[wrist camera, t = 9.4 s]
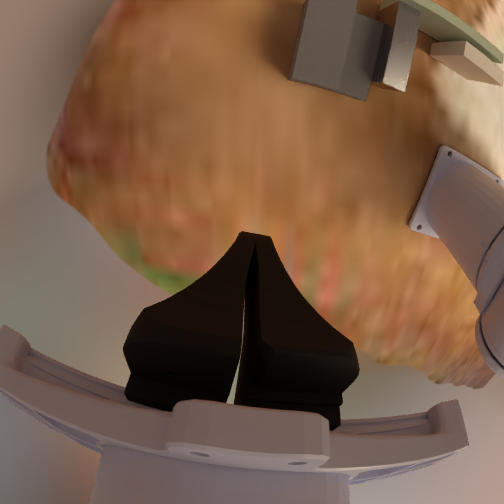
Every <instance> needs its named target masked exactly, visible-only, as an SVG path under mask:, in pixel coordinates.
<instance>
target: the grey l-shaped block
mask: <svg viewBox="0 0 504 504" xmlns="http://www.w3.org/2000/svg"><path fill="white" fill-rule="evenodd" d="M377 21H380V22H382V23H384V25H383V30H382V35H381V40H380V45H379V50H378V54H377V59H376V63H375V67H374V72H373V76H372V80H371V84H372V85H375V86H377V87H380V88H382V89H388V90H394V91H400V92H405V89H406V85H407V81H408V77H409V73H410V68H411V64H412V59H413V55H414V50H415V45H416V40H417V34H418V30H420V31H422V32H424V33H425V34H427V35H429V36H431V37H432V38H434V39H436V40H437V41H439V42H450V41H467V42H468V43H470V44H471V45H472V46H474V47H475V48H476V49H478V50H479V51H480V52H481V53H483V54H484V55H485V56H486V57H488V58H489V59H490V60H491V61H492V62H496V63H503V56H504V54H503V53H502V52H501V51H500V50H498V49H497V48H496V47H495V46H494V45H493V44H492V43H490V42H489V41H488V40H487V39H486V38H484V37H483V36H482V35H481V34H480V33H478V32H477V31H476V30H474V29H473V28H472V27H470V26H469V25H468V24H466V23H465V22H464V21H462V20H461V19H459V18H458V17H457V16H455V15H454V14H452V13H451V12H449V11H448V10H446V9H444V8H443V7H441V6H440V5H438V4H436V3H435V2H433V1H431V0H384V1H383V2H381V3H380V9H379V14H378V20H377Z"/></svg>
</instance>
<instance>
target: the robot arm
mask: <svg viewBox="0 0 504 504" xmlns="http://www.w3.org/2000/svg"><path fill="white" fill-rule="evenodd" d="M449 151H450V154H449V155H448V152H449ZM418 225H420V226H419V227H418V228H417V226H418ZM409 228H410V229H411V230H412V231H415V232H419V233H422V234H425V235H429V236H432V237H435V238H438V239H441V241H442V242H443V243H444V244H445V246H446V247H447V248H448V250H449V251H450V252H451V254H452V255H453V257H454V258H455V259H456V261H457V262H458V264H459V265H460V266H461V268H462V269H463V271H464V272H465V274H466V275H467V277H468V278H469V280H470V281H471V283H472V284H473V286H474V288H475V289H476V291H477V296H476V299H475V300H474V304H475V305H476V307H477V309H478V311H479V313H480V315H479V317H478V319H477V321H476V325H475V338H476V342H477V345H478V348H479V351H480V353H481V355H482V357H483V359H484V361H485V362H486V364H487V365H488V366H489V367H490V368H491V369H492V370H493V371H494V372H495V373H496V374H498V375H499V376H501V377H503V378H504V181H503V180H502V179H500V178H499V177H497V176H496V175H494V174H493V173H491V172H490V171H488V170H487V169H485V168H484V167H482V166H481V165H479V164H477V163H476V162H474V161H473V160H471V159H469V158H468V157H466V156H464V155H462V154H461V153H459V152H457V151H455V150H454V149H452V148H450V147H448V146H446V145H442V146H440V148H439V151H438V154H437V157H436V159H435V162H434V165H433V168H432V170H431V173H430V175H429V178H428V181H427V183H426V186H425V188H424V190H423V193H422V195H421V198H420V200H419V202H418V204H417V207H416V209H415V211H414V213H413V216H412V218H411V220H410V222H409ZM244 298H245V309H244ZM243 311H244V335H243V345H242V328H243ZM241 345H242V352H241ZM123 352H124V356H125V358H126V361H127V364H128V366H129V369H130V372H131V375H130V377H129V380H128V383H127V386H126V388H125V387H122V386H119V385H116V384H113V383H110V382H107V381H104V380H102V379H99V378H96V377H94V376H91V375H89V374H86V373H84V372H81V371H79V370H77V369H74V368H72V367H70V366H67V365H65V364H63V363H60V362H58V361H56V360H54V359H52V358H50V357H47V356H46V355H44V354H42V353H40V352H38V351H36V350H34V349H32V348H31V347H30V344H29V343H28V341H27V340H26V339H25V338H24V337H23V336H22V335H21V334H20V333H18V332H16V331H15V330H13V329H11V328H9V327H8V326H6V325H3V326H2V328H1V329H0V394H1V395H2V396H3V397H4V398H5V399H7V400H8V401H9V402H11V403H12V404H14V405H15V406H16V407H18V408H19V409H21V410H22V411H24V412H25V413H27V414H28V415H30V416H31V417H33V418H35V419H36V420H38V421H39V422H41V423H43V424H44V425H46V426H48V427H50V428H51V429H53V430H55V431H56V432H58V433H60V434H62V435H63V436H66V437H67V438H69V439H71V440H73V441H75V442H77V443H79V444H81V445H83V446H85V447H87V448H89V449H92V450H94V451H96V452H98V453H101V454H102V456H101V459H100V463H99V467H98V471H97V475H96V478H95V482H94V486H93V491H92V495H91V499H90V504H349V485H353V484H359V483H364V482H370V481H374V480H379V479H383V478H388V477H392V476H396V475H400V474H403V473H407V472H410V471H414V470H417V469H420V468H423V467H427V466H430V465H433V464H435V463H437V462H439V461H442V460H444V459H446V458H448V457H450V456H452V455H454V454H456V453H458V452H460V451H462V450H464V449H466V448H468V446H469V443H468V438H467V433H466V429H465V424H464V421H463V417H462V413H461V409H460V405H459V402H458V400H451V401H445V402H441V403H439V404H437V405H435V406H433V407H432V408H431V409H429V410H428V411H427V412H422V413H416V414H409V415H401V416H392V417H382V418H369V419H349V420H348V419H347V420H341V419H340V407H339V406H340V405H342V403H343V399H342V393H343V392H344V391H345V390H346V389H347V388H348V387H349V386H350V385H351V384H352V383H353V382H354V381H355V379H356V378H357V376H358V375H359V364H358V359H357V354H356V351H355V348H354V345H353V342H352V341H350V340H349V339H348V338H346V337H345V336H344V335H342V334H341V333H340V332H338V331H337V330H336V329H335V328H333V327H332V326H331V325H330V324H329V323H328V322H327V321H326V320H325V319H323V318H322V317H321V316H320V315H319V314H318V313H317V312H316V311H315V309H314V308H313V307H312V306H311V305H310V304H309V303H308V302H307V301H306V299H305V298H304V297H303V296H302V294H301V293H300V292H299V290H298V289H297V288H296V286H295V285H294V283H293V281H292V280H291V278H290V277H289V275H288V273H287V271H286V270H285V268H284V266H283V264H282V262H281V260H280V258H279V256H278V253H277V251H276V249H275V246H274V244H273V241H272V239H271V237H270V236H265V235H260V234H255V233H249V232H244V231H242V232H240V233H239V235H238V237H237V239H236V240H235V242H234V243H233V245H232V246H231V247H230V248H229V250H228V251H227V252H226V253H225V255H224V256H223V257H222V258H221V259H220V260H219V261H218V262H217V263H216V264H215V265H214V266H213V267H212V268H211V269H210V270H209V271H208V272H206V273H205V274H204V275H203V276H202V277H200V278H199V279H198V280H196V281H195V282H194V283H192V284H191V285H189V286H188V287H186V288H185V289H183V290H182V291H180V292H178V293H176V294H175V295H173V296H171V297H169V298H167V299H166V300H164V301H161V302H159V303H156V304H154V305H152V306H149V307H146V308H144V309H143V311H142V312H141V313H140V315H139V316H138V318H137V319H136V321H135V322H134V324H133V325H132V327H131V329H130V331H129V334H128V336H127V339H126V341H125V343H124V346H123ZM240 354H241V359H240ZM239 359H240V366H239V372H238V379H237V386H236V393H235V399H234V404H228V403H226V402H227V399H228V396H229V394H230V390H231V387H232V383H233V380H234V377H235V373H236V370H237V366H238V363H239Z"/></svg>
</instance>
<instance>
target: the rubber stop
mask: <svg viewBox="0 0 504 504" xmlns="http://www.w3.org/2000/svg"><path fill="white" fill-rule="evenodd" d="M357 3H358V0H306V1H305V4H304V7H303V11H302V16H301V20H300V25H299V29H298V34H297V38H296V43H295V47H294V52H293V56H292V61H291V65H290V70H289V75H288V79H287V80H291V81H296V82H300V83H304V84H308V85H312V86H316V87H319V88H323V89H326V90H330V91H333V92H337V93H340V94H343V95H346V96H349V97H352V98H355V99H358V100H362V101H366V100H367V96H368V92H369V88H370V84H371V80H372V76H373V72H374V67H375V63H376V59H377V54H378V50H379V45H380V40H381V35H382V30H383V25H384V23H382V22H380V21H377V20H375V19H372V18H370V17H367V16H365V15H362V14H359V13H357V12H356V8H357Z"/></svg>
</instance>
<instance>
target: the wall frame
mask: <svg viewBox="0 0 504 504" xmlns="http://www.w3.org/2000/svg"><path fill="white" fill-rule="evenodd" d="M429 56H431V57H433V58H434V59H436V60H438V61H440V62H441V63H443V64H444V65H446V66H448V67H449V68H451V69H452V70H454V71H455V72H457V73H458V74H460V75H461V76H463V77H464V78H466V79H468V80H474V81H480V82H485V83H490V84H494V85H499V86H503V80H504V71H503V70H501V69H500V68H499V67H498V66H497V65H496V64H495V63H494V62H492V61H491V60H490V59H489V58H488V57H486V56H485V55H484V54H483V53H481V52H480V51H479V50H478V49H476V48H475V47H474V46H472V45H471V44H470V43H468V42H467V41H450V42H437V43H432V44H431V50H430V55H429Z"/></svg>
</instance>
